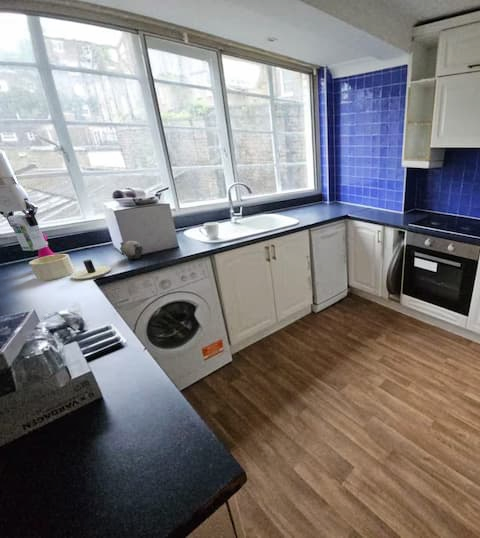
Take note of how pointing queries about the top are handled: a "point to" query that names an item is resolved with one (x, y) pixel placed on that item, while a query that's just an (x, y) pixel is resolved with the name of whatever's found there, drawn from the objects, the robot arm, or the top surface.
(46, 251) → the pepper mill
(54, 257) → the pot
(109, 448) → the top surface
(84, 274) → the lid
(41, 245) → the syrup box
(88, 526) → the top surface
